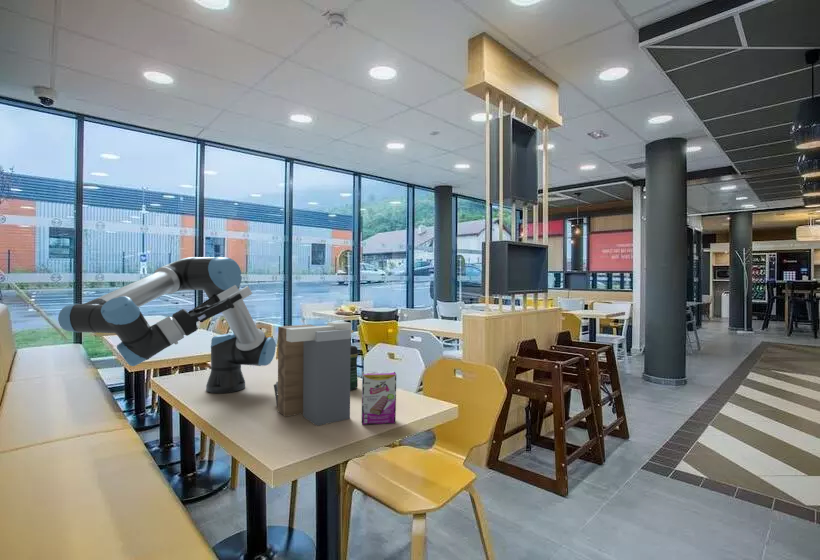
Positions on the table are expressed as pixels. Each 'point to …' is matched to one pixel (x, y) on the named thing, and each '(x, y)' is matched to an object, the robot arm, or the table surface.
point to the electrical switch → (276, 391)
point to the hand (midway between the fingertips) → (243, 289)
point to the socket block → (327, 377)
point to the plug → (314, 331)
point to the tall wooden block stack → (290, 373)
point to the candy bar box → (378, 397)
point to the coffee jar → (353, 367)
